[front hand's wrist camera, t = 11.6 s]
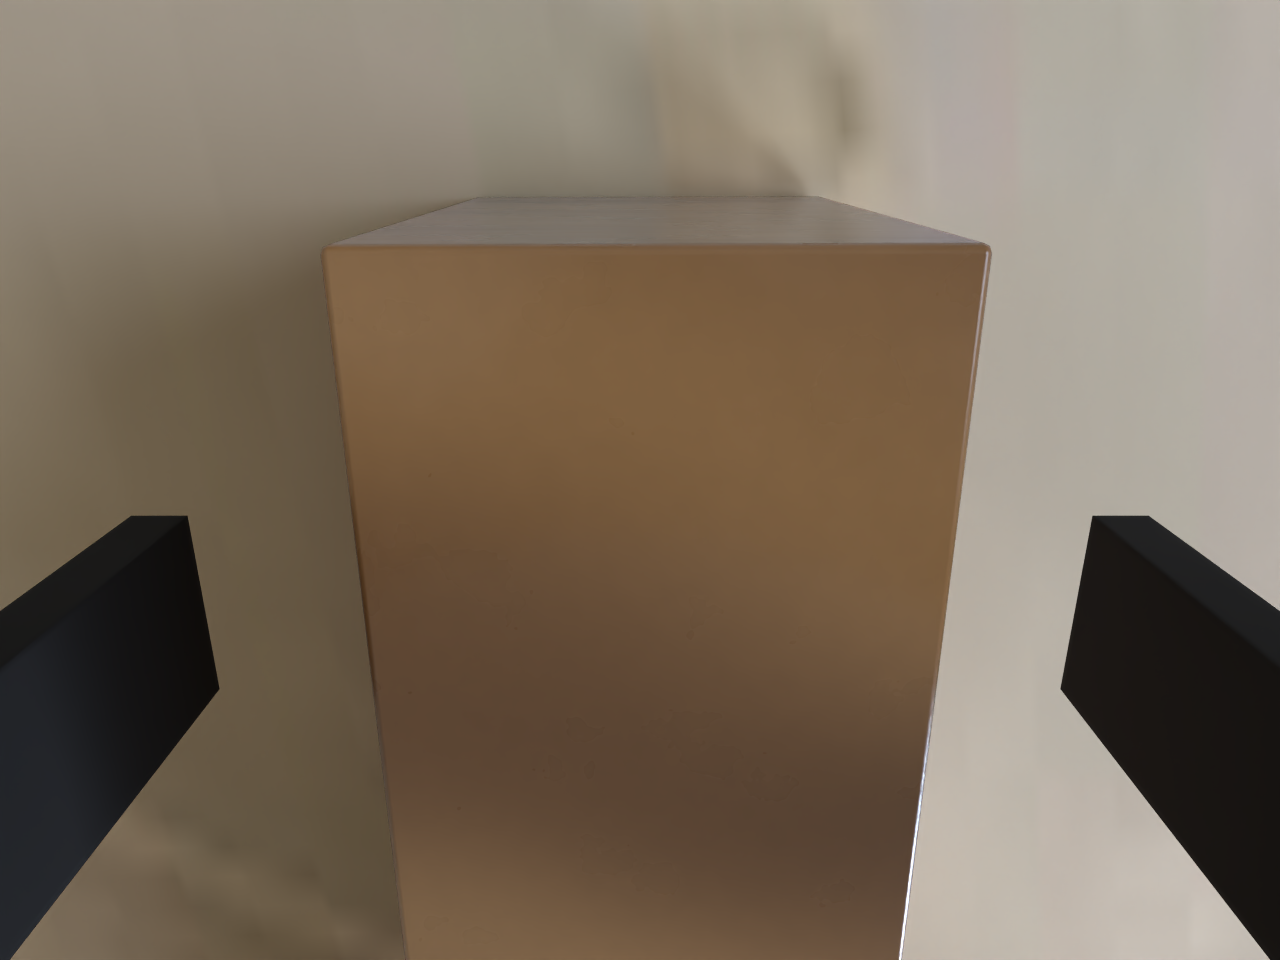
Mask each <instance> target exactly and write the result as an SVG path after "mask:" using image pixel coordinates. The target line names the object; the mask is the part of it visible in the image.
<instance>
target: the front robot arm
mask: <svg viewBox="0 0 1280 960" xmlns="http://www.w3.org/2000/svg"><path fill="white" fill-rule="evenodd" d="M218 690H219V684H218V678H217V673H216V668H215V662H214V657H213V651H212V646H211V641H210V635H209V630H208V624H207V619H206V614H205V608H204V603H203V597H202V592H201V587H200V581H199V576H198V570H197V565H196V560H195V554H194V549H193V543H192V538H191V533H190V527H189V522H188V516H130V517H129V518H128V519H126V520H125V521H124V522H122V523H121V524H119V525H118V526H117V527H115V528H114V529H113V530H111V531H110V532H108V533H107V534H106V535H104V536H103V537H102V538H100V539H99V540H97V541H96V542H95V543H93V544H92V545H91V546H89V547H88V548H86V549H85V550H84V551H82V552H81V553H80V554H78V555H77V556H75V557H74V558H73V559H71V560H70V561H69V562H67V563H66V564H64V565H63V566H62V567H60V568H59V569H58V570H56V571H55V572H53V573H52V574H51V575H49V576H48V577H47V578H45V579H44V580H42V581H41V582H40V583H38V584H37V585H36V586H34V587H33V588H31V589H30V590H29V591H27V592H26V593H25V594H23V595H22V596H20V597H19V598H18V599H16V600H15V601H14V602H12V603H11V604H9V605H8V606H7V607H5V608H4V609H3V610H1V611H0V960H10V959H11V958H12V956H13V955H14V954H15V952H16V951H17V950H18V948H19V947H20V946H21V945H22V943H23V942H24V941H25V939H26V938H27V937H28V936H29V934H30V933H31V932H32V930H33V929H34V928H35V927H36V925H37V924H38V923H39V921H40V920H41V919H42V918H43V916H44V915H45V914H46V912H47V911H48V910H49V908H50V907H51V906H52V905H53V903H54V902H55V901H56V899H57V898H58V897H59V896H60V894H61V893H62V892H63V890H64V889H65V888H66V887H67V885H68V884H69V883H70V881H71V880H72V879H73V877H74V876H75V875H76V874H77V872H78V871H79V870H80V868H81V867H82V866H83V865H84V863H85V862H86V861H87V859H88V858H89V857H90V856H91V854H92V853H93V852H94V850H95V849H96V848H97V846H98V845H99V844H100V843H101V841H102V840H103V839H104V837H105V836H106V835H107V834H108V832H109V831H110V830H111V828H112V827H113V826H114V825H115V823H116V822H117V821H118V819H119V818H120V817H121V816H122V814H123V813H124V812H125V810H126V809H127V808H128V806H129V805H130V804H131V803H132V801H133V800H134V799H135V797H136V796H137V795H138V794H139V792H140V791H141V790H142V788H143V787H144V786H145V785H146V783H147V782H148V781H149V779H150V778H151V777H152V775H153V774H154V773H155V772H156V770H157V769H158V768H159V766H160V765H161V764H162V763H163V761H164V760H165V759H166V757H167V756H168V755H169V754H170V752H171V751H172V750H173V748H174V747H175V746H176V745H177V743H178V742H179V741H180V739H181V738H182V737H183V735H184V734H185V733H186V732H187V730H188V729H189V728H190V726H191V725H192V724H193V723H194V721H195V720H196V719H197V717H198V716H199V715H200V714H201V712H202V711H203V710H204V708H205V707H206V706H207V704H208V703H209V702H210V701H211V699H212V698H213V697H214V695H215V694H216V693H217V692H218ZM1061 690H1062V692H1063V693H1064V694H1065V695H1066V697H1067V698H1068V699H1069V701H1070V702H1071V703H1072V705H1073V706H1074V707H1075V708H1076V710H1077V711H1078V712H1079V714H1080V715H1081V716H1082V717H1083V719H1084V720H1085V721H1086V723H1087V724H1088V725H1089V726H1090V728H1091V729H1092V730H1093V732H1094V733H1095V734H1096V735H1097V737H1098V738H1099V739H1100V741H1101V742H1102V743H1103V745H1104V746H1105V747H1106V748H1107V750H1108V751H1109V752H1110V754H1111V755H1112V756H1113V757H1114V759H1115V760H1116V761H1117V763H1118V764H1119V765H1120V766H1121V768H1122V769H1123V770H1124V772H1125V773H1126V774H1127V776H1128V777H1129V778H1130V779H1131V781H1132V782H1133V783H1134V785H1135V786H1136V787H1137V788H1138V790H1139V791H1140V792H1141V794H1142V795H1143V796H1144V797H1145V799H1146V800H1147V801H1148V803H1149V804H1150V805H1151V807H1152V808H1153V809H1154V810H1155V812H1156V813H1157V814H1158V816H1159V817H1160V818H1161V819H1162V821H1163V822H1164V823H1165V825H1166V826H1167V827H1168V828H1169V830H1170V831H1171V832H1172V834H1173V835H1174V836H1175V837H1176V839H1177V840H1178V841H1179V843H1180V844H1181V845H1182V847H1183V848H1184V849H1185V850H1186V852H1187V853H1188V854H1189V856H1190V857H1191V858H1192V859H1193V861H1194V862H1195V863H1196V865H1197V866H1198V867H1199V868H1200V870H1201V871H1202V872H1203V874H1204V875H1205V876H1206V878H1207V879H1208V880H1209V881H1210V883H1211V884H1212V885H1213V887H1214V888H1215V889H1216V890H1217V892H1218V893H1219V894H1220V896H1221V897H1222V898H1223V899H1224V901H1225V902H1226V903H1227V905H1228V906H1229V907H1230V908H1231V910H1232V911H1233V912H1234V914H1235V915H1236V916H1237V918H1238V919H1239V920H1240V921H1241V923H1242V924H1243V925H1244V927H1245V928H1246V929H1247V930H1248V932H1249V933H1250V934H1251V936H1252V937H1253V938H1254V939H1255V941H1256V942H1257V943H1258V945H1259V946H1260V947H1261V949H1262V950H1263V951H1264V952H1265V954H1266V955H1267V956H1268V958H1269V959H1270V960H1280V611H1279V610H1277V609H1276V608H1275V607H1273V606H1272V605H1271V604H1269V603H1268V602H1266V601H1265V600H1264V599H1262V598H1261V597H1260V596H1258V595H1257V594H1255V593H1254V592H1253V591H1251V590H1250V589H1249V588H1247V587H1246V586H1244V585H1243V584H1242V583H1240V582H1239V581H1238V580H1236V579H1235V578H1233V577H1232V576H1231V575H1229V574H1228V573H1227V572H1225V571H1224V570H1222V569H1221V568H1220V567H1218V566H1217V565H1216V564H1214V563H1213V562H1211V561H1210V560H1209V559H1207V558H1206V557H1205V556H1203V555H1202V554H1200V553H1199V552H1198V551H1196V550H1195V549H1194V548H1192V547H1191V546H1189V545H1188V544H1187V543H1185V542H1184V541H1183V540H1181V539H1180V538H1178V537H1177V536H1176V535H1174V534H1173V533H1172V532H1170V531H1169V530H1167V529H1166V528H1165V527H1163V526H1162V525H1161V524H1159V523H1158V522H1156V521H1155V520H1154V519H1152V518H1151V517H1150V516H1092V522H1091V527H1090V532H1089V538H1088V543H1087V549H1086V554H1085V559H1084V565H1083V570H1082V576H1081V581H1080V586H1079V592H1078V597H1077V603H1076V608H1075V613H1074V619H1073V624H1072V630H1071V635H1070V640H1069V646H1068V651H1067V657H1066V662H1065V667H1064V673H1063V678H1062V684H1061Z"/></svg>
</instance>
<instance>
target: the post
mask: <svg viewBox="0 0 1280 960" xmlns="http://www.w3.org/2000/svg"><path fill="white" fill-rule="evenodd" d="M991 256H992V252H991V248H990V246H989V245H987V244H985V243H982V242H979V241H975V240H971V239H968V238H964V237H961V236H957V235H954V234H950V233H946V232H943V231H939V230H936V229H932V228H929V227H925V226H922V225H918V224H914V223H911V222H907V221H904V220H900V219H897V218H893V217H890V216H886V215H882V214H879V213H875V212H872V211H868V210H865V209H861V208H857V207H854V206H850V205H847V204H843V203H840V202H836V201H833V200H829V199H825V198H822V197H478V198H475V199H472V200H469V201H466V202H462V203H459V204H456V205H453V206H450V207H446V208H443V209H440V210H437V211H434V212H431V213H427V214H424V215H421V216H418V217H415V218H411V219H408V220H405V221H402V222H399V223H396V224H392V225H389V226H386V227H383V228H380V229H377V230H373V231H370V232H367V233H364V234H361V235H357V236H354V237H351V238H348V239H345V240H342V241H338V242H335V243H332V244H329V245H327V246H325V247H323V248H322V252H321V262H322V270H323V279H324V287H325V295H326V304H327V312H328V320H329V329H330V337H331V345H332V354H333V362H334V370H335V379H336V387H337V395H338V404H339V412H340V420H341V429H342V437H343V445H344V454H345V462H346V470H347V478H348V487H349V495H350V503H351V512H352V520H353V528H354V537H355V545H356V553H357V562H358V570H359V578H360V587H361V595H362V603H363V612H364V620H365V628H366V637H367V645H368V653H369V661H370V670H371V678H372V686H373V695H374V703H375V711H376V720H377V728H378V736H379V745H380V753H381V761H382V770H383V778H384V786H385V795H386V803H387V811H388V820H389V828H390V836H391V845H392V853H393V861H394V869H395V878H396V886H397V894H398V903H399V911H400V919H401V928H402V936H403V944H404V953H405V960H902V953H903V945H904V938H905V930H906V922H907V914H908V906H909V898H910V891H911V883H912V875H913V867H914V859H915V851H916V844H917V836H918V828H919V820H920V812H921V804H922V797H923V789H924V781H925V773H926V765H927V757H928V750H929V742H930V734H931V726H932V718H933V710H934V703H935V695H936V687H937V679H938V671H939V663H940V656H941V648H942V640H943V632H944V624H945V617H946V609H947V601H948V593H949V585H950V577H951V570H952V562H953V554H954V546H955V538H956V530H957V523H958V515H959V507H960V499H961V491H962V483H963V476H964V468H965V460H966V452H967V444H968V436H969V429H970V421H971V413H972V405H973V397H974V389H975V382H976V374H977V366H978V358H979V350H980V342H981V335H982V327H983V319H984V311H985V303H986V295H987V288H988V280H989V272H990V264H991Z"/></svg>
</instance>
